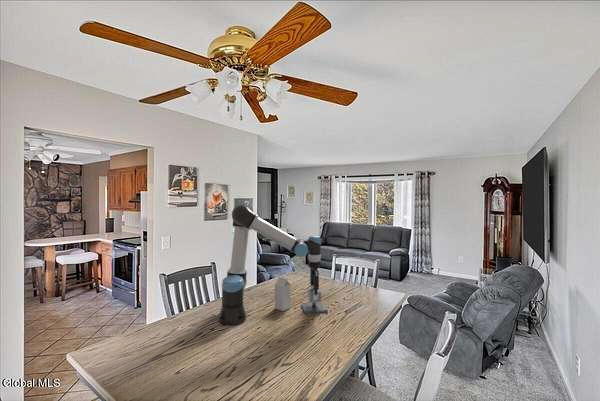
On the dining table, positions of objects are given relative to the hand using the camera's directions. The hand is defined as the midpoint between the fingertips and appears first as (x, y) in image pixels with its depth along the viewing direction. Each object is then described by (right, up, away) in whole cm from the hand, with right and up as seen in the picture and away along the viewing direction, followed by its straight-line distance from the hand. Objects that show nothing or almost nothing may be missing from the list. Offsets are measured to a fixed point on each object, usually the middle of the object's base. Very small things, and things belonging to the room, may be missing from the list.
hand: (314, 297), depth 179 cm
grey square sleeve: (0, -2, 0) cm, 2 cm away
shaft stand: (0, -7, 0) cm, 7 cm away
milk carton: (-20, -7, 0) cm, 21 cm away
